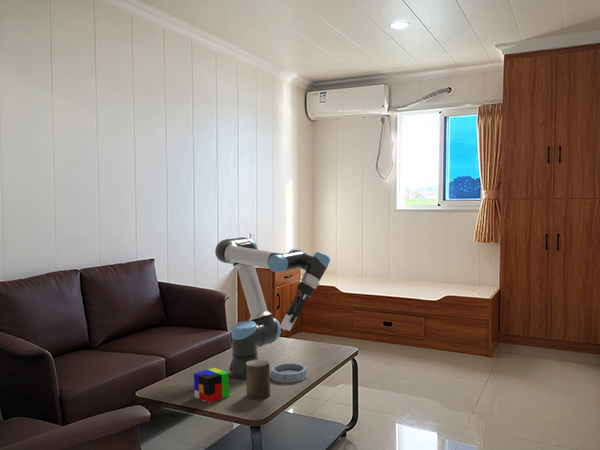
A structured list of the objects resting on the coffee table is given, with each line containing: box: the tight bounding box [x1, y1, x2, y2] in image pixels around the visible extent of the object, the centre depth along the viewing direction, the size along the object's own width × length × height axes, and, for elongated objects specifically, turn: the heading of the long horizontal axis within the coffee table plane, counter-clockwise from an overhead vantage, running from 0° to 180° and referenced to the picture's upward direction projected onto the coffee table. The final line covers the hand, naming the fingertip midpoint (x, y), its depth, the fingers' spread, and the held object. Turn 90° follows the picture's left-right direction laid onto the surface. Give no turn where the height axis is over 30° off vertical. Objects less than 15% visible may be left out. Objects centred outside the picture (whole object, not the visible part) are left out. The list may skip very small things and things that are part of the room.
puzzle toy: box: [193, 367, 230, 403], centre depth 210 cm, size 10×10×10 cm
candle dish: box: [270, 362, 309, 384], centre depth 232 cm, size 17×17×4 cm
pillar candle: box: [245, 358, 271, 400], centre depth 210 cm, size 10×10×15 cm
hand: (284, 329), depth 218 cm, fingers open, 13 cm apart
